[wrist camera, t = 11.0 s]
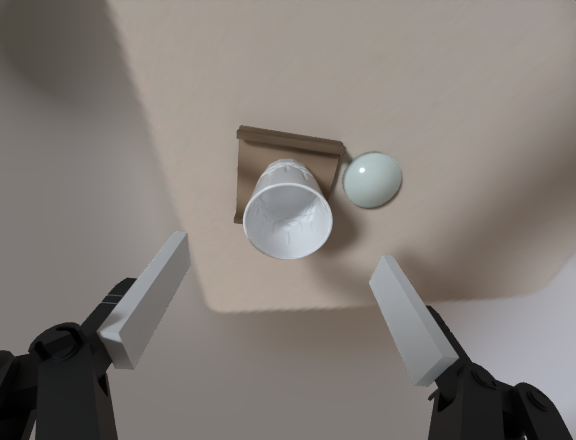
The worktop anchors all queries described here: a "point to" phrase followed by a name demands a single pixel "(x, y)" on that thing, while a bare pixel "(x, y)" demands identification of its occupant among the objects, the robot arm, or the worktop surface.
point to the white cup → (287, 212)
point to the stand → (280, 145)
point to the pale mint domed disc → (371, 179)
